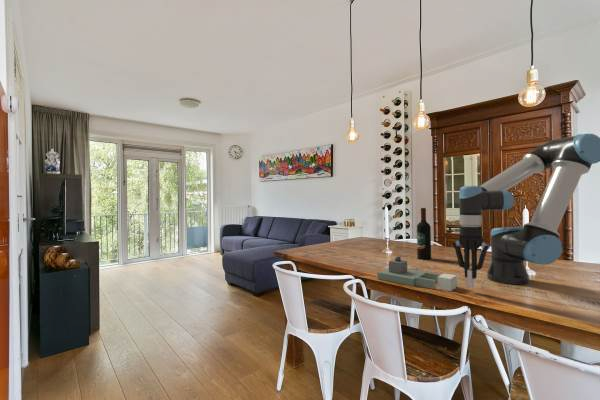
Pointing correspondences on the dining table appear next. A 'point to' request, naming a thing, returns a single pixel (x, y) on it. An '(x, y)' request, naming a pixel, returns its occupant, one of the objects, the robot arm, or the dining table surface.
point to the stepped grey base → (407, 275)
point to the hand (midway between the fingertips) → (470, 286)
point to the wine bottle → (423, 238)
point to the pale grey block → (447, 282)
